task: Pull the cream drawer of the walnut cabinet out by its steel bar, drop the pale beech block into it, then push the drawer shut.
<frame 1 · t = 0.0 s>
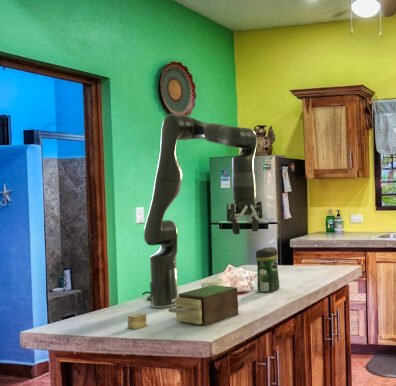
hand: (246, 232, 167), 29 cm above the countertop, tool pointing down, fingers open, 8 cm apart
cabinet: (209, 318, 168), on the countertop
block: (137, 326, 161), on the countertop
drawer: (198, 307, 164), point 5 cm above the countertop, slide at 0.5 cm
coffee jar: (268, 290, 210), on the countertop
white cup: (213, 307, 185), on the countertop
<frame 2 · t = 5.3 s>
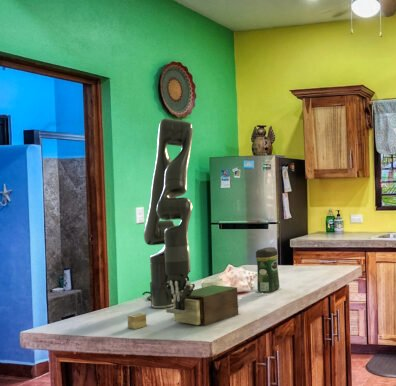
hand: (180, 311, 158), 5 cm above the countertop, tool pointing down, fingers closed
drawer: (196, 308, 164), point 5 cm above the countertop, slide at 1.3 cm, touching gripper
everything else where it was.
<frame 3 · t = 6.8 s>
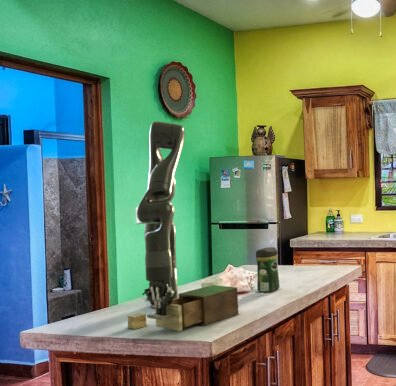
hand: (161, 319, 152), 5 cm above the countertop, tool pointing down, fingers closed
drawer: (179, 313, 158), point 5 cm above the countertop, slide at 8.1 cm, touching gripper
everything else where it was.
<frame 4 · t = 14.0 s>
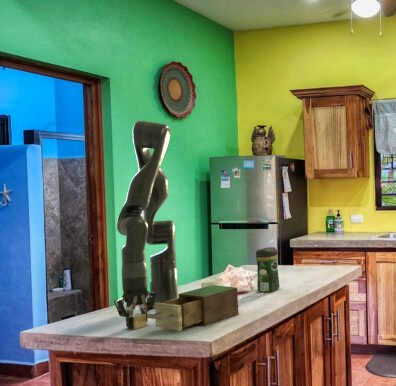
hand: (137, 326, 161), 0 cm above the countertop, tool pointing down, fingers closed on block, 4 cm apart
block: (137, 326, 161), on the countertop, touching gripper
drawer: (178, 313, 158), point 5 cm above the countertop, slide at 8.2 cm
everything else where it was.
when the fingers open (10 cm above the countertop, at t = 30.3 s): block drops 8 cm, resting on drawer.
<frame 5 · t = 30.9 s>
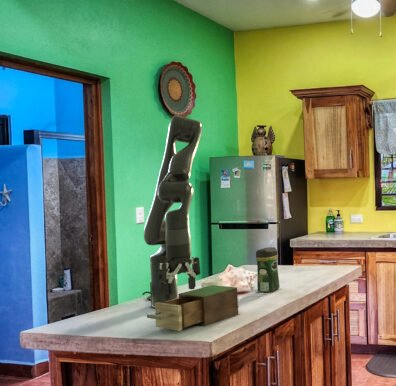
hand: (180, 291, 159), 12 cm above the countertop, tool pointing down, fingers open, 8 cm apart
block: (182, 320, 159), point 2 cm above the countertop, touching drawer
drawer: (178, 313, 158), point 5 cm above the countertop, slide at 8.2 cm, touching block
everything else where it was.
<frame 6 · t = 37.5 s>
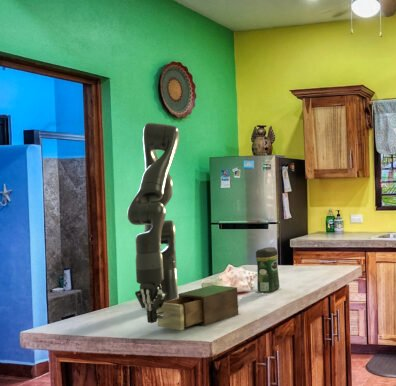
hand: (152, 322, 150), 4 cm above the countertop, tool pointing down, fingers closed
drawer: (180, 312, 158), point 5 cm above the countertop, slide at 7.4 cm, touching block, gripper
everything else where it was.
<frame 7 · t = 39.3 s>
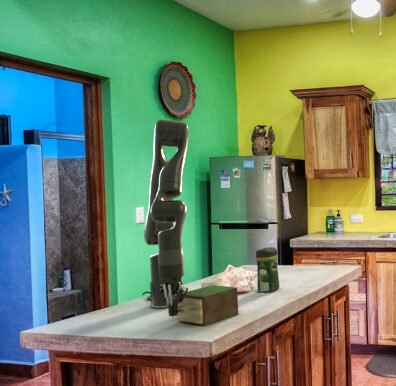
hand: (173, 315, 156), 4 cm above the countertop, tool pointing down, fingers closed
block: (202, 314, 166), point 2 cm above the countertop, touching drawer
drawer: (199, 307, 165), point 5 cm above the countertop, slide at 0.0 cm, touching block, cabinet, gripper
everything else where it was.
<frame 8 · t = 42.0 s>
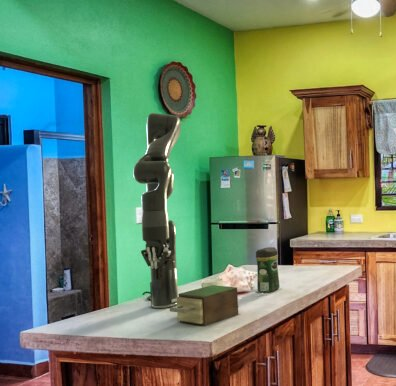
hand: (158, 280, 152), 17 cm above the countertop, tool pointing down, fingers closed
drawer: (199, 307, 165), point 5 cm above the countertop, slide at 0.0 cm, touching block
everything else where it was.
at the end: drawer pulled out 8.2 cm at the most during the clip, back to where it started at the end; block inside the target area in the cabinet (1.0 cm from its centre), point 2.0 cm above the cabinet's base; drawer slide at 0.0 cm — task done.
